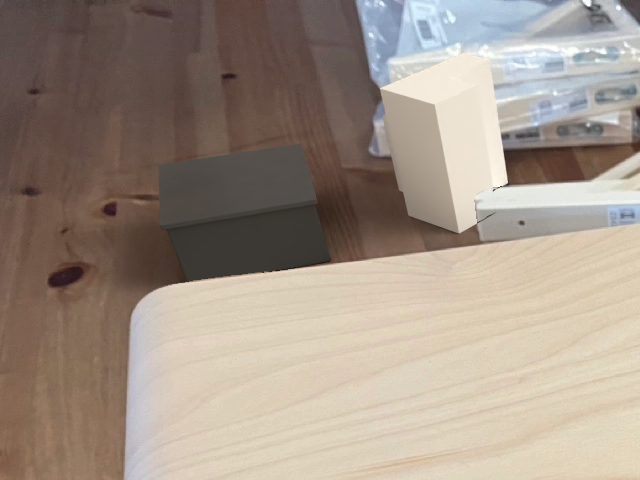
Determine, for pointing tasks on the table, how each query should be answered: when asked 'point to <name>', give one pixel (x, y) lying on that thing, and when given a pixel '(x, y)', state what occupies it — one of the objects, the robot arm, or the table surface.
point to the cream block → (445, 139)
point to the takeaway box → (242, 213)
